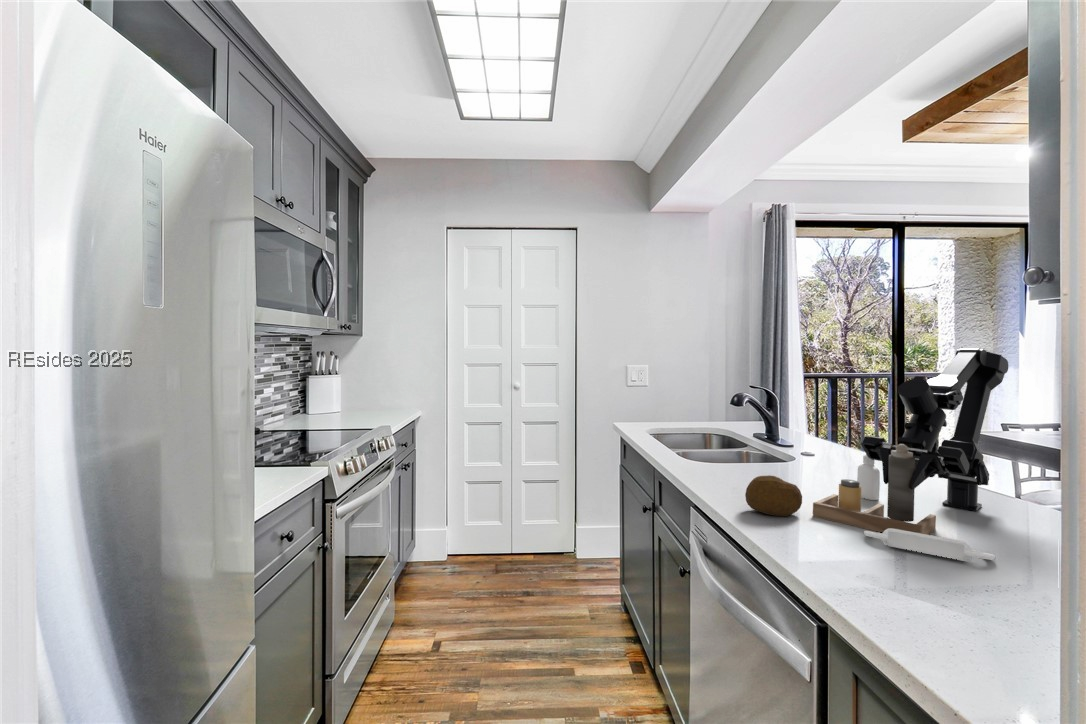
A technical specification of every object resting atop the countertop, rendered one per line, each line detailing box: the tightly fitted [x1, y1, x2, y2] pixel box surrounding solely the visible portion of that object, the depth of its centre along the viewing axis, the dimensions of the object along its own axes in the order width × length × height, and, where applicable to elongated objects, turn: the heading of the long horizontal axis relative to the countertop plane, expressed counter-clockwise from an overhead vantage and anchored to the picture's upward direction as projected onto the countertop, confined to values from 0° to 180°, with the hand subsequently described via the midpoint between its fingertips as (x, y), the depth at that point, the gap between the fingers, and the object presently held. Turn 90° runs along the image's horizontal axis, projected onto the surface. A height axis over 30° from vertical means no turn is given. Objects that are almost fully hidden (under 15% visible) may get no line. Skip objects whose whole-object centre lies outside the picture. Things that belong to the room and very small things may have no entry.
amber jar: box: [838, 478, 862, 512], centre depth 117 cm, size 4×4×8 cm
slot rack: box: [812, 493, 937, 535], centre depth 113 cm, size 11×20×3 cm, turn 40°
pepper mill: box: [886, 443, 916, 523], centre depth 109 cm, size 5×5×16 cm
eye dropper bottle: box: [856, 453, 881, 501], centre depth 132 cm, size 4×6×12 cm
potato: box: [744, 474, 803, 517], centre depth 118 cm, size 8×12×9 cm
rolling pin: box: [863, 528, 996, 562], centre depth 98 cm, size 20×8×4 cm, turn 52°
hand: (898, 485), depth 109 cm, fingers closed on pepper mill, 5 cm apart
